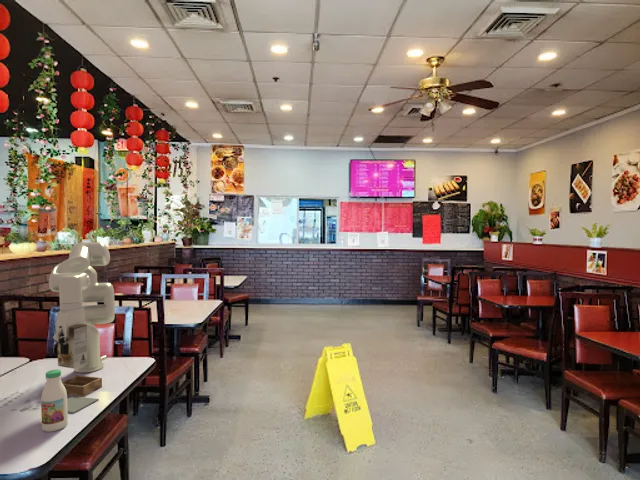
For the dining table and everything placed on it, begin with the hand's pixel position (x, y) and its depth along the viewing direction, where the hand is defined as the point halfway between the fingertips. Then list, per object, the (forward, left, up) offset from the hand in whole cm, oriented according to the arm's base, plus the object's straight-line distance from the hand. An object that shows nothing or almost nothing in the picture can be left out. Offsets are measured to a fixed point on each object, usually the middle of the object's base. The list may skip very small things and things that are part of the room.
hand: (72, 350), depth 162 cm
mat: (0, 0, -22) cm, 22 cm away
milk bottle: (+16, +8, -22) cm, 28 cm away
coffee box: (0, 0, -6) cm, 6 cm away
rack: (-13, -10, -22) cm, 27 cm away
